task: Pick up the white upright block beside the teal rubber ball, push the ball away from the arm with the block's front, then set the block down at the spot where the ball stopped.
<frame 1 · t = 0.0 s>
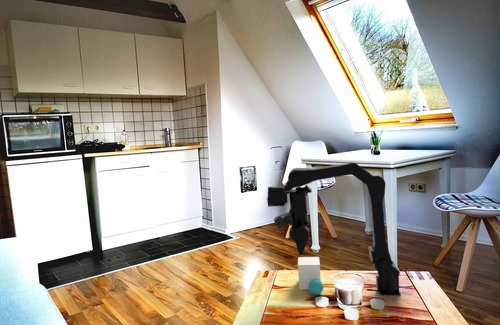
hand: (301, 250, 126), 14 cm above the table, tool pointing down, fingers open, 9 cm apart
white upright block: (310, 284, 131), on the table
ball: (315, 286, 123), on the table
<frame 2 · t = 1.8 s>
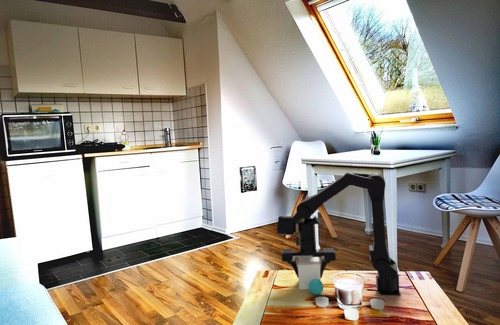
hand: (309, 277, 131), 3 cm above the table, tool pointing down, fingers closed on white upright block, 7 cm apart
white upright block: (310, 284, 131), on the table, touching gripper
everything else where it was.
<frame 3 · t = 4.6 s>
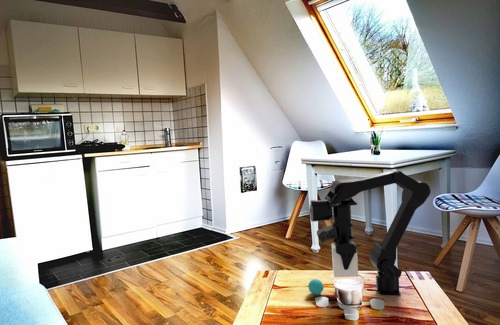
hand: (344, 264, 121), 10 cm above the table, tool pointing down, fingers closed on white upright block, 7 cm apart
white upright block: (345, 272, 121), point 8 cm above the table, touching gripper
everything else where it was.
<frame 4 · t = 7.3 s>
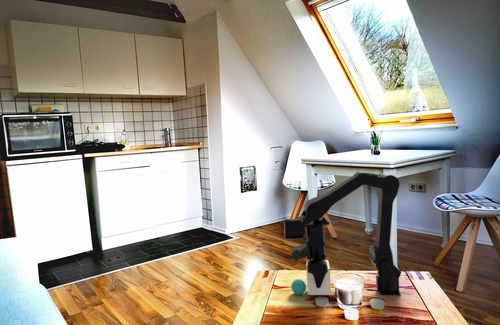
hand: (318, 282, 123), 4 cm above the table, tool pointing down, fingers closed on white upright block, 7 cm apart
white upright block: (318, 289, 123), point 2 cm above the table, touching gripper
ball: (298, 286, 124), on the table
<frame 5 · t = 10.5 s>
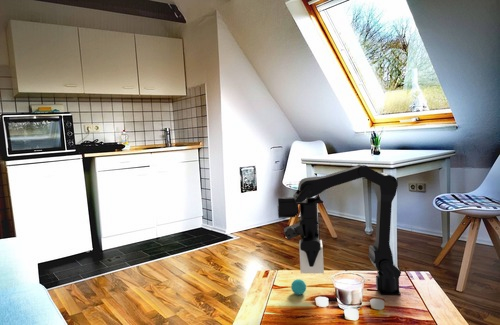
hand: (311, 261, 123), 11 cm above the table, tool pointing down, fingers closed on white upright block, 7 cm apart
white upright block: (311, 268, 123), point 9 cm above the table, touching gripper
everything else where it was.
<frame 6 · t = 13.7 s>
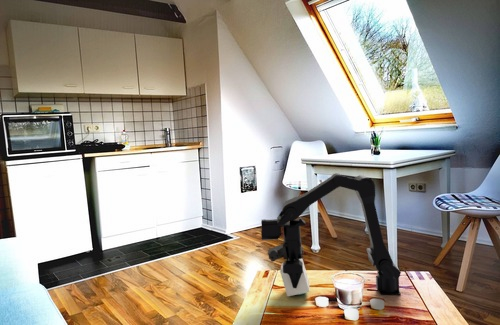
hand: (295, 282, 124), 4 cm above the table, tool pointing down, fingers closed on white upright block, 7 cm apart
white upright block: (298, 289, 124), point 2 cm above the table, tilted 12°, touching gripper
when the fingers open (3 cm above the table, at t = 14.6 s): white upright block drops 1 cm, on the table.
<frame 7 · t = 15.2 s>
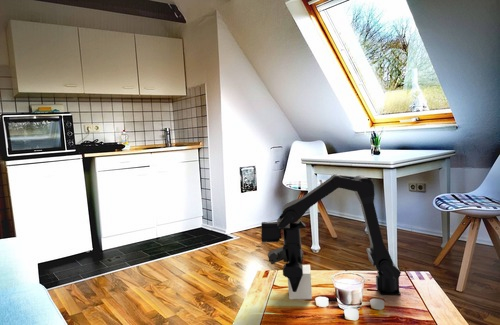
hand: (295, 285, 124), 3 cm above the table, tool pointing down, fingers open, 9 cm apart
white upright block: (300, 293, 124), on the table
everything else where it was.
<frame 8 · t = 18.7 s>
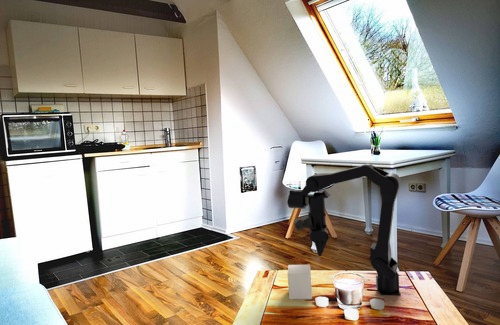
hand: (319, 251, 133), 11 cm above the table, tool pointing down, fingers open, 9 cm apart
nothing on the table moved.
at the end: ball 0.2 cm from the white upright block (horizontally); white upright block on the table; ball moved 5.1 cm from its start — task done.
